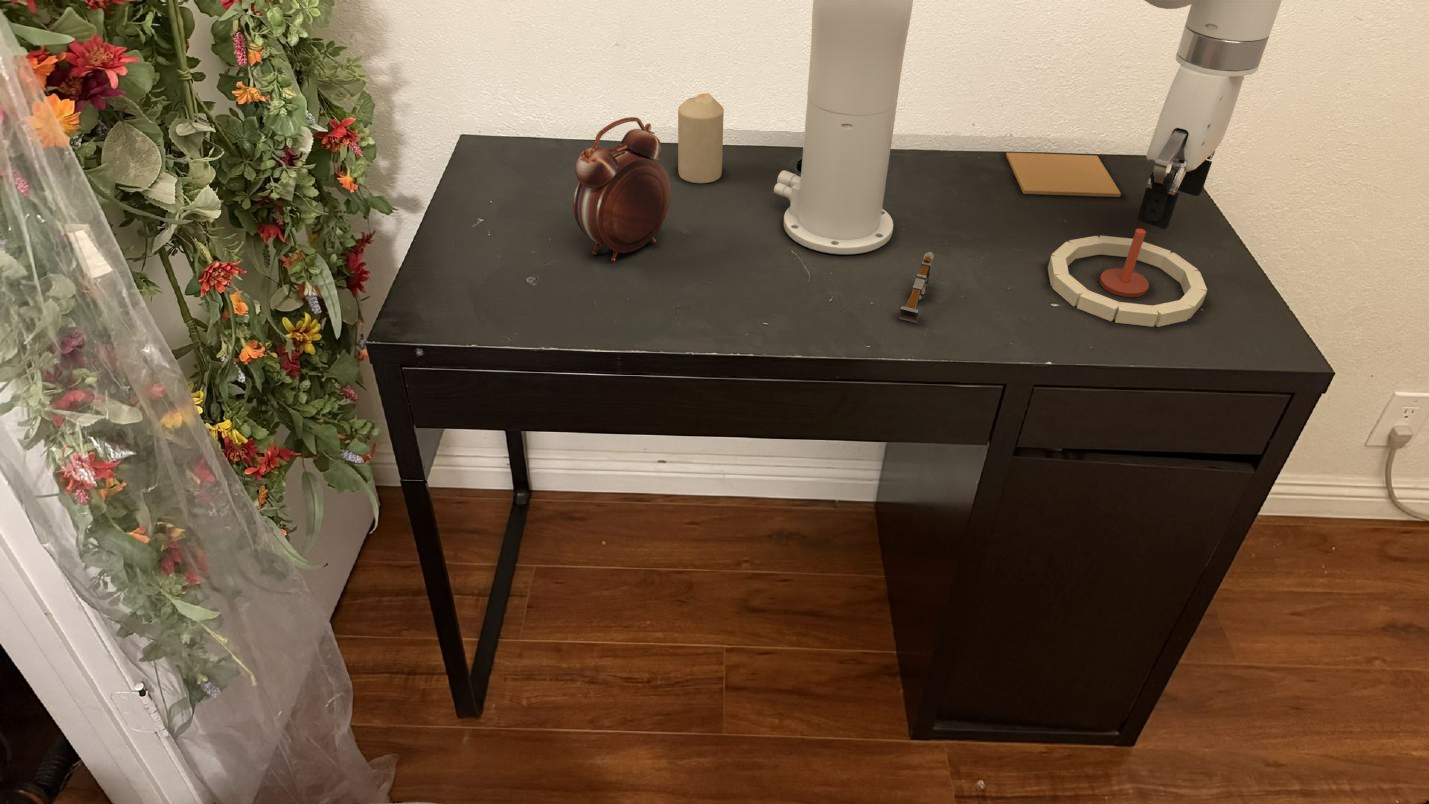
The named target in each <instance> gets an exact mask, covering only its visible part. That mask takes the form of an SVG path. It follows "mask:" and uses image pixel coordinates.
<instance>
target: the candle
mask: <svg viewBox="0 0 1429 804" xmlns="http://www.w3.org/2000/svg"><path fill="white" fill-rule="evenodd" d="M724 111H725V109H724V107H723V106H722V104H720V102H718V100H716V99H715V98H714V97H713V96H712V95H711V94H710V93H709V92H707V93H705V92H704V93H700V94H698V95H696V96H693V97H689V98H688V99H685V100H684V101H683V102H682V103H681V104H679V106H678V108H677V127H678V128H677V138H678V139H677V168H678V169H677V170H678V171H677V172H678V176H679V177H680V178H681V179H682V180H684V181H685V182H689V183H694V184H708V183H713V182H715V181H717V180H719V179H721V177H722V173H723V149H724V148H723V146H724V116H725V115H724V113H725V112H724Z"/></svg>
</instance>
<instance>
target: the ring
mask: <svg viewBox="0 0 1429 804" xmlns="http://www.w3.org/2000/svg"><path fill="white" fill-rule="evenodd" d="M1132 240H1133V238H1128V237H1118V236H1110V235H1109V236H1108V235H1099V236H1098V235H1092V236H1087V237H1080V238H1076V239H1070V240H1068V241H1065V242H1064V243H1063V244H1062V245H1060V246H1059V247H1058V248H1057V249H1055V251H1054V252H1052V253H1051V255H1050V258H1049V262H1048V265H1047V272H1048V278H1049V283H1050V287H1051V289H1052V290H1054V291H1055V293H1057V294H1058V295H1059V296H1061V298H1063V299H1064V300H1065V301H1066V302H1067V303H1068V304H1070V305H1071V306H1072V307H1076V309H1077V310H1080V311H1083V312H1085V313H1088V314H1091V315H1093V316H1095V317H1098V318H1100V319H1103V320H1106V321H1109V322H1113V321H1114V323H1115V324H1123V325H1131V326H1132V325H1133V326H1142V327H1150V328H1154V327H1155V326H1156V327H1157V328H1160V327H1164V326H1169V325H1172V324H1177V323H1182V322H1188V320H1190V319H1191V318H1192V317H1193V316H1194V315H1195V313H1196V312H1197V311H1198V310H1199V308H1200V307H1201V306H1202V305H1203V303H1204V301H1205V298H1206V296H1207V292H1208V288H1207V285H1206V283H1205V280H1204V278H1203V276H1202V274H1201V271H1200V270H1199V269H1198V268H1197V267H1195V266H1194V265H1193V264H1191V263H1190V262H1188V261H1187V260H1185V259H1184V258H1182V257H1181V256H1180V255H1178V254H1177V253H1176V252H1172V251H1171V250H1169V249H1166V248H1163V247H1161V246H1157V245H1155V244H1151V243H1149V242H1146V241H1143V243H1142V246H1141V249H1140V252H1139V255H1138V258H1137V261H1139V262H1141V263H1145V264H1148V265H1151V266H1153V267H1155V268H1159V269H1160V270H1162V271H1163V272H1164V273H1166V274H1167V275H1168V276H1170V277H1171V278H1172V279H1174V280H1175V281H1177V282H1178V283H1180V286H1181V289H1182V292H1183V294H1184V295H1183V296H1182V297H1181V298H1180V299H1178V300H1174V301H1168V302H1163V303H1159V304H1154V305H1149V304H1141V303H1133V302H1123V301H1118V300H1115V299H1113V298H1110V297H1109V296H1108V297H1107V296H1105V295H1102V294H1100V293H1096V292H1094V291H1092V290H1089V289H1088V288H1086V287H1085V286H1084V285H1083V284H1082V283H1081V282H1079V281H1078V280H1077V279H1076V278H1075V277H1074V276H1073V275H1071V274H1070V272H1069V266H1070V265H1071V264H1072V263H1074V261H1075V260H1079V259H1082V258H1088V257H1093V256H1098V255H1101V256H1112V257H1121V258H1127V256H1128V253H1129V250H1130V247H1131V244H1132Z"/></svg>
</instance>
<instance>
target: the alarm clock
mask: <svg viewBox="0 0 1429 804" xmlns="http://www.w3.org/2000/svg"><path fill="white" fill-rule="evenodd" d="M631 122H632V123H633V122H636V124H637V125H638V126H639V128H633V129H630V130H628V131H627V132H626V133H625V134H624V136H623V138H622V139H621V141H620V143H619V144H617V145H615V146H614V147H611V148H608V149H606V148H604V147H603V146H599V144H600V142H601V138H602V137H603V136H604V135H605V134H606V133H607V132H609V131H611V130H612V129H614V128H615V127H618V126H620V125H623V124H626V123H631ZM651 130H652V124H651V123H646V124H645V125H644V124H643V121H642V120H641V119H640V118H639V117H636V116H630V117H624V118H620V119H617V120H615V121H613V122H611V123H609V124H608V125H606V126H604V127H603V128H602V129H600V130H599V131H598V133H597V134H596V137H595V139H594V142H593V144H592V146H591V147H588V148H586V149H584V150H583V151H581V152H580V154H579V155H578V157H577V158H576V160H575V162H574V171H575V172H574V173H575V175H576V178H577V180H578V181H577V183H576V187H575V190H574V194H573V202H572V203H573V204H572V208H573V209H572V210H573V216H574V219H575V223H576V224H577V226H578V228H579V229H580V231H581V232H582V234H584V235H585V236H587V237H588V238H589V239H591V240H592V241H593V242H595V243H594V249H593V251H592V255H593V256H597V254H598V250H599V248H600V246H601V247H604V248H607V249H608V250H611V251H612V256H611V259H610V261H612V262H615V261H616V260H617V259H616V257H617V256H618V253H620V254H623V253H624V254H626V253H631V252H635V251H637V250H639V249H641V248H643V247H644V246H645V245H646V244H648V243H649V242H650V241H651V243H654V244H655V243H656V242H657V241H656V238H654V237H655V236H656V234H657V233H658V232H659V230H660V229H661V227H662V225H663V223H664V222H665V219H666V217H667V214H668V211H669V209H670V208H669V207H670V204H671V198H672V197H671V196H672V188H671V181H670V178H669V174H668V172H667V171H666V169H665V168H664V166H663V165H662V164H661V163H659V162H658V161H660V160H661V157H662V156H661V155H662V150H663V149H662V147H663V146H662V142H661V140H660V138H659V137H657V135H656V133H655V132H654V131H651ZM656 160H657V161H656Z"/></svg>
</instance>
